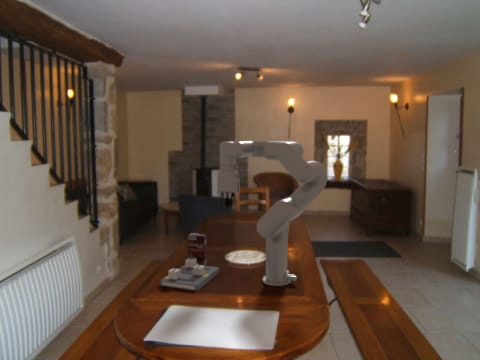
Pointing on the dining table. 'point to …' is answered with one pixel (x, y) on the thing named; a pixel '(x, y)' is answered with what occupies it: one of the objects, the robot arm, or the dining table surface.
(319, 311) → the dining table surface
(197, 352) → the dining table surface
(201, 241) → the supplement box
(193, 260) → the switch
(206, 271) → the switch unit
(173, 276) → the switch
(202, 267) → the switch
